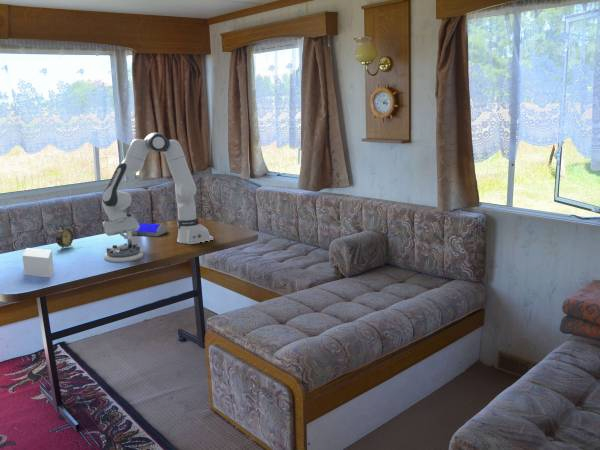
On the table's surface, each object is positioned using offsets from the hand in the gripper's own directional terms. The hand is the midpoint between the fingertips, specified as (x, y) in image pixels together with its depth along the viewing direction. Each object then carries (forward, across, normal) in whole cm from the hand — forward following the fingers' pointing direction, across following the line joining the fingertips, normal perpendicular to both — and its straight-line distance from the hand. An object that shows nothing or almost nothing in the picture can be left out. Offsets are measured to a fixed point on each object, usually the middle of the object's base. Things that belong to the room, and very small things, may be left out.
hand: (127, 238), depth 315 cm
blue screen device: (-18, +32, +30) cm, 47 cm away
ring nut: (+9, -7, -1) cm, 12 cm away
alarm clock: (-20, -22, +32) cm, 44 cm away
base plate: (+11, -7, +1) cm, 13 cm away
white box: (+6, -50, +6) cm, 51 cm away
